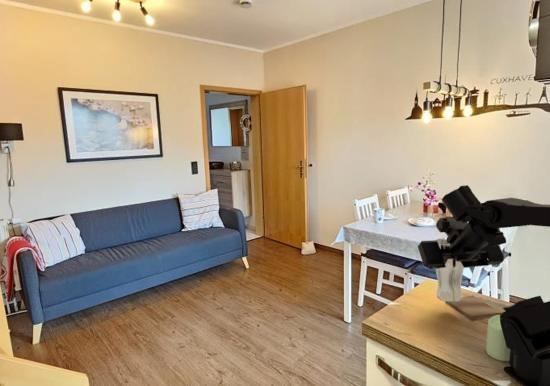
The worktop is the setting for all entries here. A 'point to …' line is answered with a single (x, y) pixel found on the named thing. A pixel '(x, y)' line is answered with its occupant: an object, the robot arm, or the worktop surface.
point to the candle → (496, 340)
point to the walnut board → (474, 308)
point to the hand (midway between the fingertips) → (446, 267)
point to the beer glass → (449, 277)
